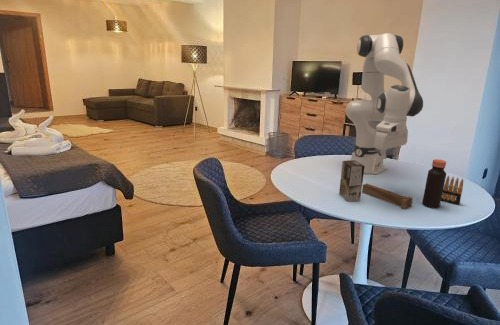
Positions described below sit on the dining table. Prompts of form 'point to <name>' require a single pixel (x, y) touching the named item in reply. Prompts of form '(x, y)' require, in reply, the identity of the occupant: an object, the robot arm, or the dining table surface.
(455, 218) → the dining table surface
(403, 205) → the walnut pusher
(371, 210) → the dining table surface
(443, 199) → the ammunition clip
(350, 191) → the coffee box
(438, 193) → the bottle
